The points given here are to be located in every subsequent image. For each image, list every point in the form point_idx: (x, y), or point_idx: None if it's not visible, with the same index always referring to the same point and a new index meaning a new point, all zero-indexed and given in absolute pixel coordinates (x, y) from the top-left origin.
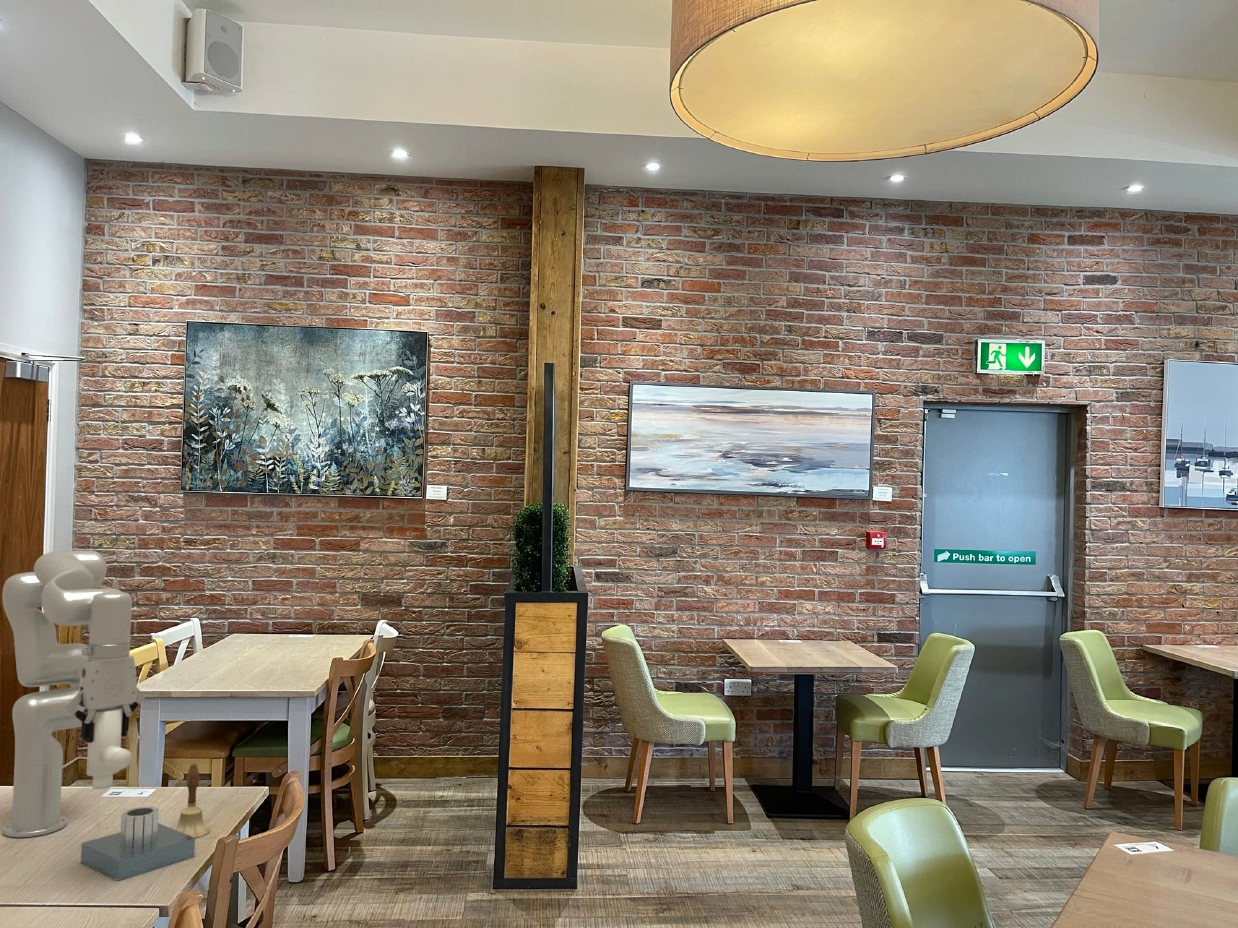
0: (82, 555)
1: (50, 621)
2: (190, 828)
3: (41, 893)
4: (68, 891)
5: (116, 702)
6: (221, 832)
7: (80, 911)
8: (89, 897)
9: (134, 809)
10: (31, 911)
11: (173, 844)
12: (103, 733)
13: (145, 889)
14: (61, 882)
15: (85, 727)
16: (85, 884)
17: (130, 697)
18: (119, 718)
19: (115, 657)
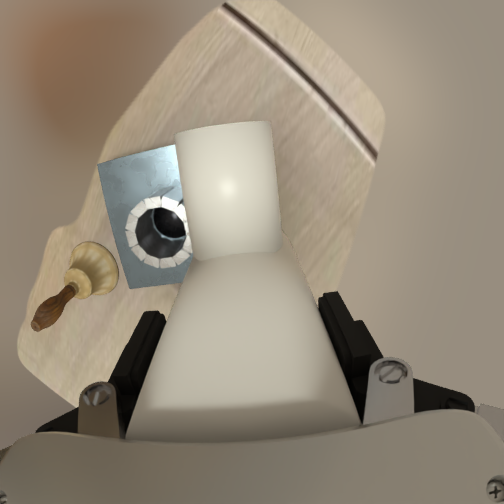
0: None
1: None
2: (90, 256)
3: (336, 169)
4: (305, 146)
5: (176, 472)
6: (59, 240)
7: (314, 59)
8: (289, 99)
9: (165, 258)
10: (363, 112)
11: (133, 154)
12: (282, 290)
13: (213, 71)
14: (302, 192)
15: (378, 352)
16: (277, 156)
17: (32, 471)
18: (167, 354)
19: None
